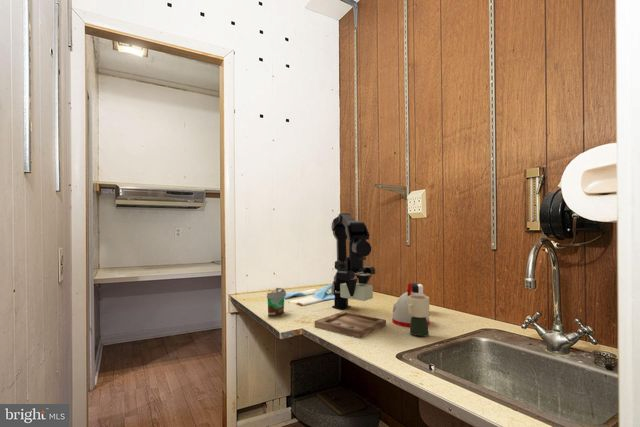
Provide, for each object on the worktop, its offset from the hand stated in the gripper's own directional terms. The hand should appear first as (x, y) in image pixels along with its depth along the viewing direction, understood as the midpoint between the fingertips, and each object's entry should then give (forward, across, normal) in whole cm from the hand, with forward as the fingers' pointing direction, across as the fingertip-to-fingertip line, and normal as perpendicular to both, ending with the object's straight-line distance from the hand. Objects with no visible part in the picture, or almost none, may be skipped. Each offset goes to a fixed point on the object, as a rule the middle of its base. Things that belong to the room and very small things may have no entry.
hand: (356, 294), depth 131 cm
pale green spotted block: (+1, 0, 0) cm, 1 cm away
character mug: (+11, -3, +24) cm, 27 cm away
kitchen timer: (+11, -15, +15) cm, 24 cm away
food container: (+11, +10, -34) cm, 37 cm away
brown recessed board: (+11, +4, 0) cm, 12 cm away
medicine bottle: (+11, -31, +10) cm, 34 cm away
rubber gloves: (+12, -24, -47) cm, 54 cm away
